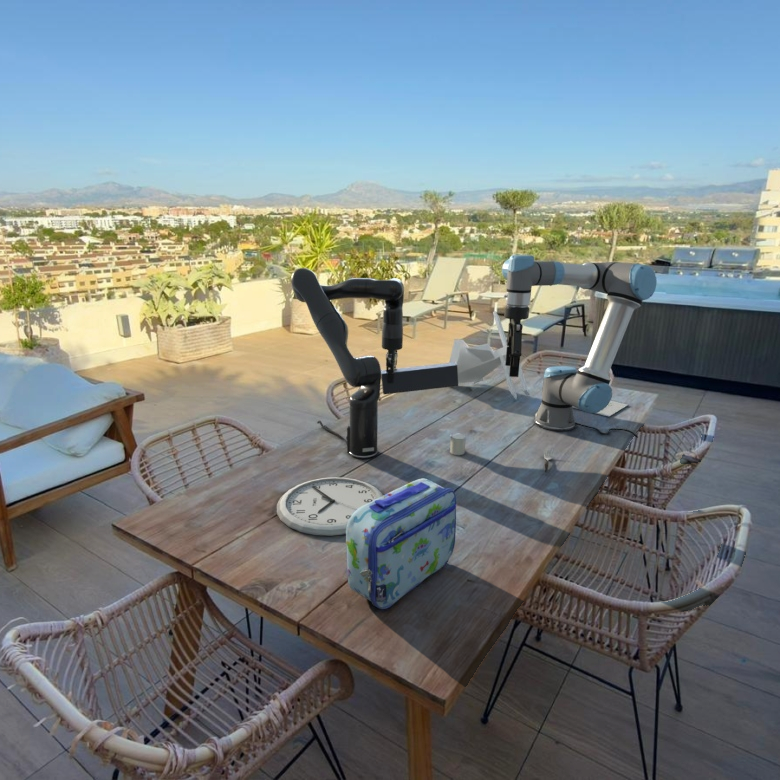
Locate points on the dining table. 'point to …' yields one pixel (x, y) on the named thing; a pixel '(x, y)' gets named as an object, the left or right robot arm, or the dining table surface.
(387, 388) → the bar
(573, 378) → the right robot arm
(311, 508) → the wall clock
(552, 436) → the dining table surface
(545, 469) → the fork
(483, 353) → the white plastic object
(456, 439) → the off-white cylinder
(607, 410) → the invitation card
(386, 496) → the lunch box
